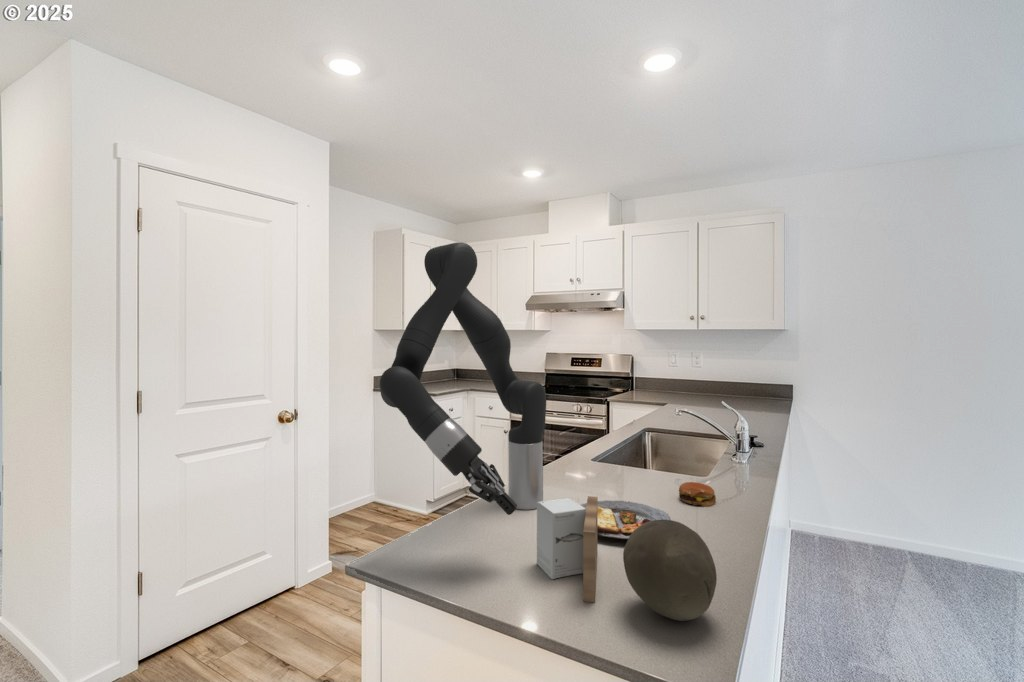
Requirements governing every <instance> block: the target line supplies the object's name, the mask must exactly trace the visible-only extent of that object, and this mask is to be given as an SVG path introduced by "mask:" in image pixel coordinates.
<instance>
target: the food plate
mask: <svg viewBox="0 0 1024 682" xmlns="http://www.w3.org/2000/svg"><path fill="white" fill-rule="evenodd" d="M580 505H581V506H582V507H584V508H585V509H586V507H587V502H584V503H581V504H580ZM637 517H638V518H637ZM653 520H672V519H671V517H670V515H669V513H667V512H666V511H664V510H661V509H659V508H655V507H653V506H649V505H647V504H643V503H639V502H633V501H630V500H628V501H627V500H609V499H608V500H598V532H597V537H600V538H610V539H617V540H618V539H619V540H626V541H628V538H629V536H630V535H631V534H632V533H633V531H634V530H635V529H637V528H638V527H639V526H641V525H643V524H644V523H646V522H648V521H653Z"/></svg>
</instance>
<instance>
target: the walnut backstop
mask: <svg viewBox="0 0 1024 682" xmlns="http://www.w3.org/2000/svg"><path fill="white" fill-rule="evenodd" d="M598 501H599V500H598V496H591V495H589V496H587V501H586V503H587V507H586V515H585V523H584V531H583V573H582V574H583V575H582V576H583V577H582V580H583V584H582V585H583V587H582V588H583V593H582V594H583V595H582V597H583V599H582V601H583V602H585V603H586V602H588V603H589V602H590V603H596V595H597V594H596V592H597V591H596V590H597V575H598V574H597V572H598V571H597V570H598V569H597V568H598V535H597V532H598Z"/></svg>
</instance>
